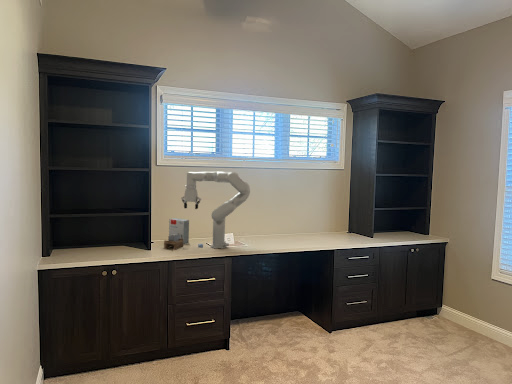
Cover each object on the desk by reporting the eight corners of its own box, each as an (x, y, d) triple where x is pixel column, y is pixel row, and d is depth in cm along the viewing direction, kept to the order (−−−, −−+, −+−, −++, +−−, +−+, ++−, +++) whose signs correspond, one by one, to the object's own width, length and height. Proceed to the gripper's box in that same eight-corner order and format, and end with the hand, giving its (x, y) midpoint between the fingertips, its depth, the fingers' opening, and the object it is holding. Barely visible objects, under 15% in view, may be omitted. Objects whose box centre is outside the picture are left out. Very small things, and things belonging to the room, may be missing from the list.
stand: (183, 246, 306) (183, 238, 306) (175, 249, 295) (175, 241, 294) (172, 245, 309) (172, 237, 309) (164, 248, 298) (164, 240, 297)
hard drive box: (168, 242, 319) (168, 218, 318) (174, 241, 326) (174, 217, 325) (183, 245, 312) (183, 220, 311) (189, 243, 319) (189, 219, 318)
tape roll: (203, 246, 308) (203, 244, 307) (201, 247, 304) (201, 244, 304) (199, 246, 309) (199, 243, 308) (197, 247, 305) (197, 244, 305)
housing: (174, 242, 297) (174, 235, 297) (168, 241, 299) (168, 234, 298) (179, 240, 305) (179, 233, 304) (173, 240, 306) (173, 232, 306)
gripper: (179, 187, 305) (179, 208, 306) (199, 188, 299) (198, 209, 301) (184, 186, 312) (183, 207, 313) (203, 187, 307) (202, 208, 308)
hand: (191, 208), depth 307 cm, fingers open, 9 cm apart
